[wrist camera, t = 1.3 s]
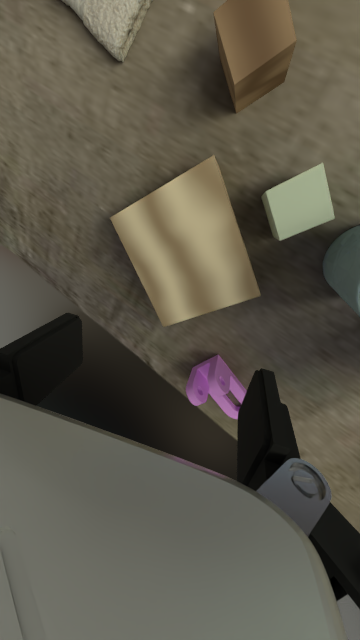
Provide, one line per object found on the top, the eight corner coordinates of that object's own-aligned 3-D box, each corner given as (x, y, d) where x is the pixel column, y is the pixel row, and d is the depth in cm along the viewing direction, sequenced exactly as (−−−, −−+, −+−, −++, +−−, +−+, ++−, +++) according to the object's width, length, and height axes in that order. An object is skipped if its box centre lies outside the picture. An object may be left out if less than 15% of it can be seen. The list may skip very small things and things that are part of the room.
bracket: (192, 366, 40) (183, 393, 34) (218, 353, 38) (213, 379, 31) (233, 417, 42) (232, 450, 36) (260, 407, 40) (263, 442, 34)
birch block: (218, 165, 27) (213, 155, 23) (258, 285, 32) (260, 295, 27) (127, 218, 32) (109, 217, 28) (173, 314, 37) (163, 327, 33)
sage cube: (305, 174, 25) (322, 162, 20) (316, 218, 27) (334, 218, 21) (261, 196, 27) (265, 191, 22) (273, 236, 28) (280, 240, 23)
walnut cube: (269, 21, 21) (278, -45, 16) (283, 82, 23) (296, 40, 17) (220, 59, 23) (213, 12, 18) (236, 113, 25) (234, 84, 19)
